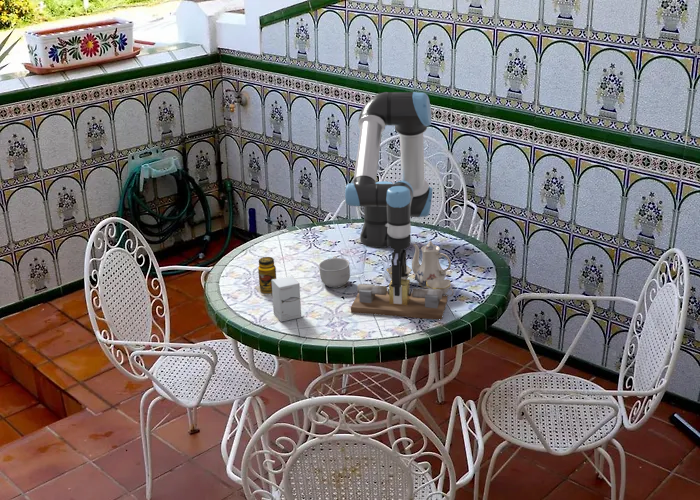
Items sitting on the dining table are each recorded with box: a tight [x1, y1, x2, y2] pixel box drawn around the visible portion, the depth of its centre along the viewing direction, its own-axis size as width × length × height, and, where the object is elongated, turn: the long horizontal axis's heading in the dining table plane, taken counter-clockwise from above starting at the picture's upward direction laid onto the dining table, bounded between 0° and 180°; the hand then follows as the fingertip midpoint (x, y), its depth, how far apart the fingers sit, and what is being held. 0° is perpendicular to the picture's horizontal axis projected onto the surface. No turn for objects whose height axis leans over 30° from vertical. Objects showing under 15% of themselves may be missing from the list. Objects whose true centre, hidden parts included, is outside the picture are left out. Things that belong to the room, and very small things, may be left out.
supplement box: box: [271, 275, 302, 323], centre depth 275 cm, size 7×7×13 cm
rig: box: [350, 283, 449, 321], centre depth 279 cm, size 14×30×7 cm, turn 76°
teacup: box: [318, 255, 351, 288], centre depth 299 cm, size 14×11×8 cm
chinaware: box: [386, 240, 454, 297], centre depth 291 cm, size 28×17×17 cm, turn 52°
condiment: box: [254, 256, 277, 297], centre depth 294 cm, size 7×8×12 cm
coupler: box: [387, 278, 413, 305], centre depth 278 cm, size 5×8×7 cm, turn 76°
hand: (399, 299), depth 280 cm, fingers open, 6 cm apart
